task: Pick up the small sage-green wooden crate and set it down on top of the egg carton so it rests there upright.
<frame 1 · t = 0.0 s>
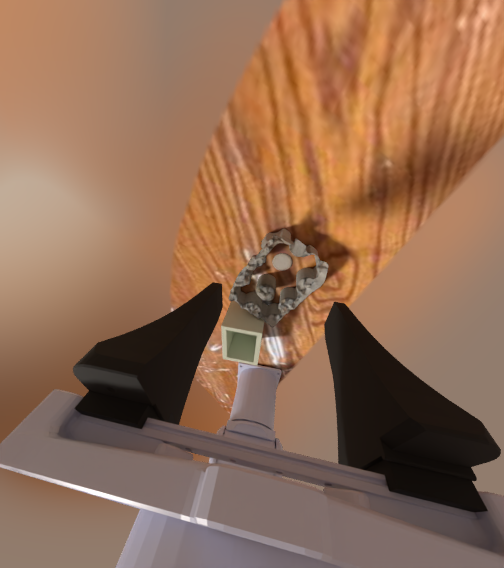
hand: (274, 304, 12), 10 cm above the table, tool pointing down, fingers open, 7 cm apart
crate: (247, 319, 28), on the table
egg carton: (275, 271, 23), on the table
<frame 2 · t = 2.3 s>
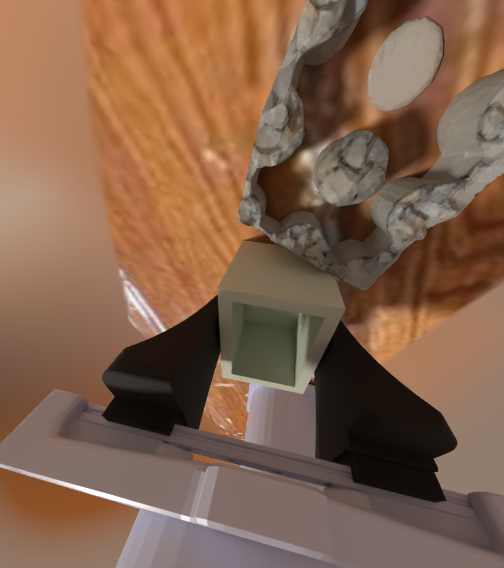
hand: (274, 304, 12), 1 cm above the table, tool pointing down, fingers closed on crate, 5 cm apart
crate: (275, 291, 13), on the table, touching gripper
egg carton: (366, 128, 8), on the table
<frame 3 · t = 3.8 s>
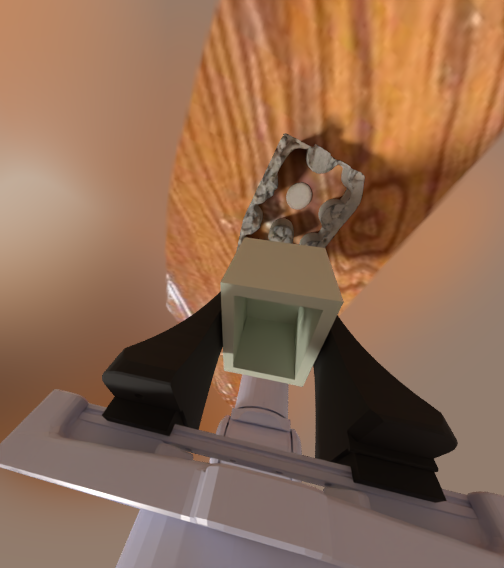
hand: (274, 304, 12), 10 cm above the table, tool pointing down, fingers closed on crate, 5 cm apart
crate: (275, 287, 14), point 8 cm above the table, touching gripper
egg carton: (291, 213, 18), on the table
when the fingers open (7 cm above the table, at t = 5.4 s): crate drops 2 cm, resting on egg carton.
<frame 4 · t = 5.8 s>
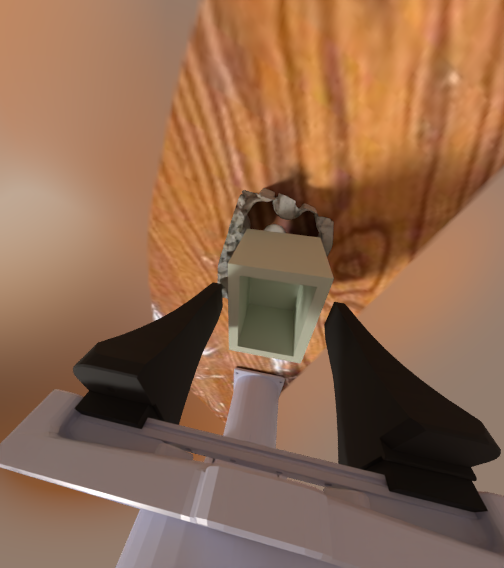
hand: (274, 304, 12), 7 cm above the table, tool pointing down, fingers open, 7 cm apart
crate: (275, 275, 15), point 3 cm above the table, touching egg carton
egg carton: (269, 251, 18), on the table, touching crate
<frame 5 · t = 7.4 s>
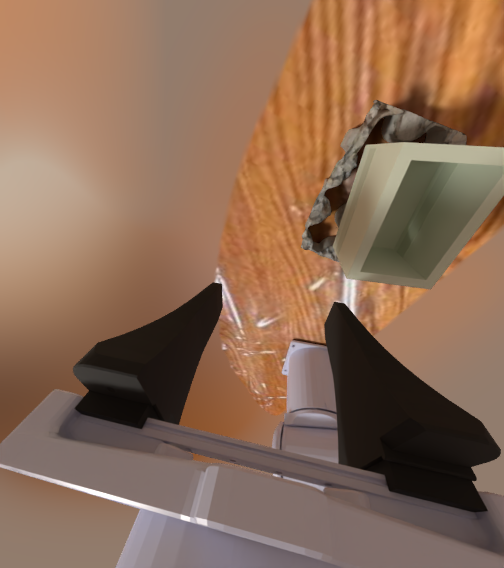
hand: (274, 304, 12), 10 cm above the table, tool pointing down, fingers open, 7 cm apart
crate: (382, 206, 14), point 3 cm above the table, touching egg carton
egg carton: (358, 195, 17), on the table, touching crate
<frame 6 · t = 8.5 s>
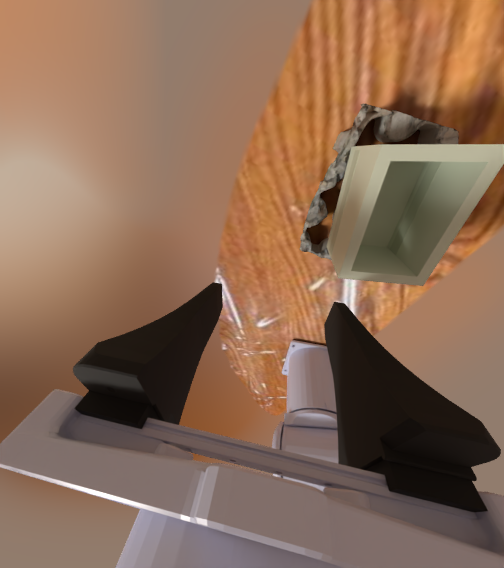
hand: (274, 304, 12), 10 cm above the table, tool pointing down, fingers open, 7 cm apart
crate: (372, 205, 14), point 3 cm above the table, touching egg carton
egg carton: (355, 195, 17), on the table, touching crate
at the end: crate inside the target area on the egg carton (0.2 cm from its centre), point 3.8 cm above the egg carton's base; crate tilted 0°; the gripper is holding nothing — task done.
